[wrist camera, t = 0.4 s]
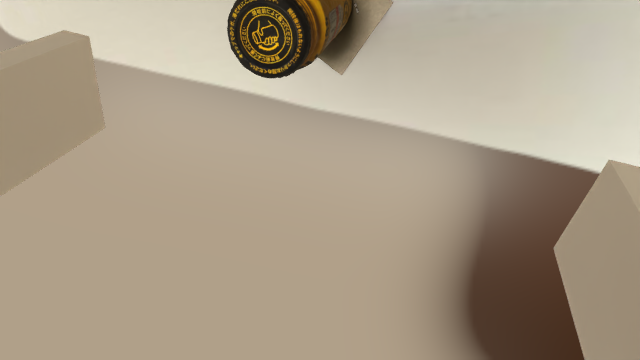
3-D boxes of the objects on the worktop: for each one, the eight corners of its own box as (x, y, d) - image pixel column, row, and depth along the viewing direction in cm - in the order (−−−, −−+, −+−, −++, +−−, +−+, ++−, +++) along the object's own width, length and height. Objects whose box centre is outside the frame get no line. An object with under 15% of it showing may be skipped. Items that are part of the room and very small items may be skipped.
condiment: (305, -67, 33) (242, -54, 23) (393, 2, 33) (369, 42, 24) (262, 15, 37) (194, 55, 27) (342, 73, 38) (303, 133, 28)
